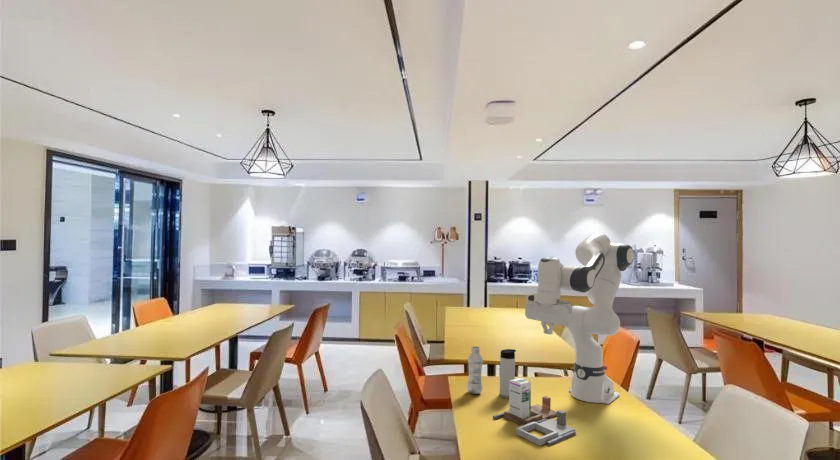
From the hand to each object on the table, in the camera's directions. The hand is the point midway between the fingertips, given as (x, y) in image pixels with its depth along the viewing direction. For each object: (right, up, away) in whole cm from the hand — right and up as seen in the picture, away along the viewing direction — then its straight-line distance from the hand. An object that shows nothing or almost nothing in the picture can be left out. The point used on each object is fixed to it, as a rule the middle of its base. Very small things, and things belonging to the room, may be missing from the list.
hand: (548, 333), depth 161 cm
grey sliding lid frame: (-6, -30, -18) cm, 36 cm away
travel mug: (-12, -32, +18) cm, 38 cm away
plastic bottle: (-26, -31, +20) cm, 46 cm away
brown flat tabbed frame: (-7, -31, -4) cm, 32 cm away
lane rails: (-9, -30, -12) cm, 34 cm away
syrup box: (-13, -31, -7) cm, 34 cm away
